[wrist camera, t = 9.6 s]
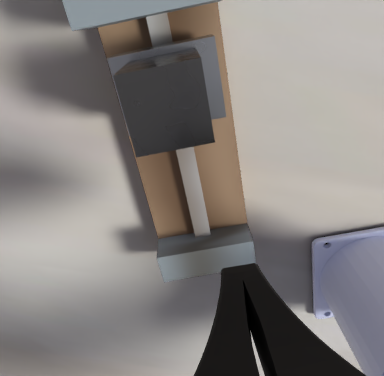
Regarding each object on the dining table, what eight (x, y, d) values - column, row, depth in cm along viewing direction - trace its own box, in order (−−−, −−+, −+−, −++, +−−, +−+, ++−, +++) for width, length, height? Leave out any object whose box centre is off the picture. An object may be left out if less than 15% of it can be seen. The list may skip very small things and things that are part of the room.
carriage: (211, 34, 16) (226, 42, 11) (221, 107, 18) (240, 145, 12) (114, 54, 16) (83, 71, 11) (133, 125, 18) (115, 169, 13)
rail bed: (197, -123, 15) (202, -155, 12) (247, 236, 24) (256, 266, 21) (68, -93, 15) (44, -118, 12) (165, 251, 24) (164, 282, 22)
